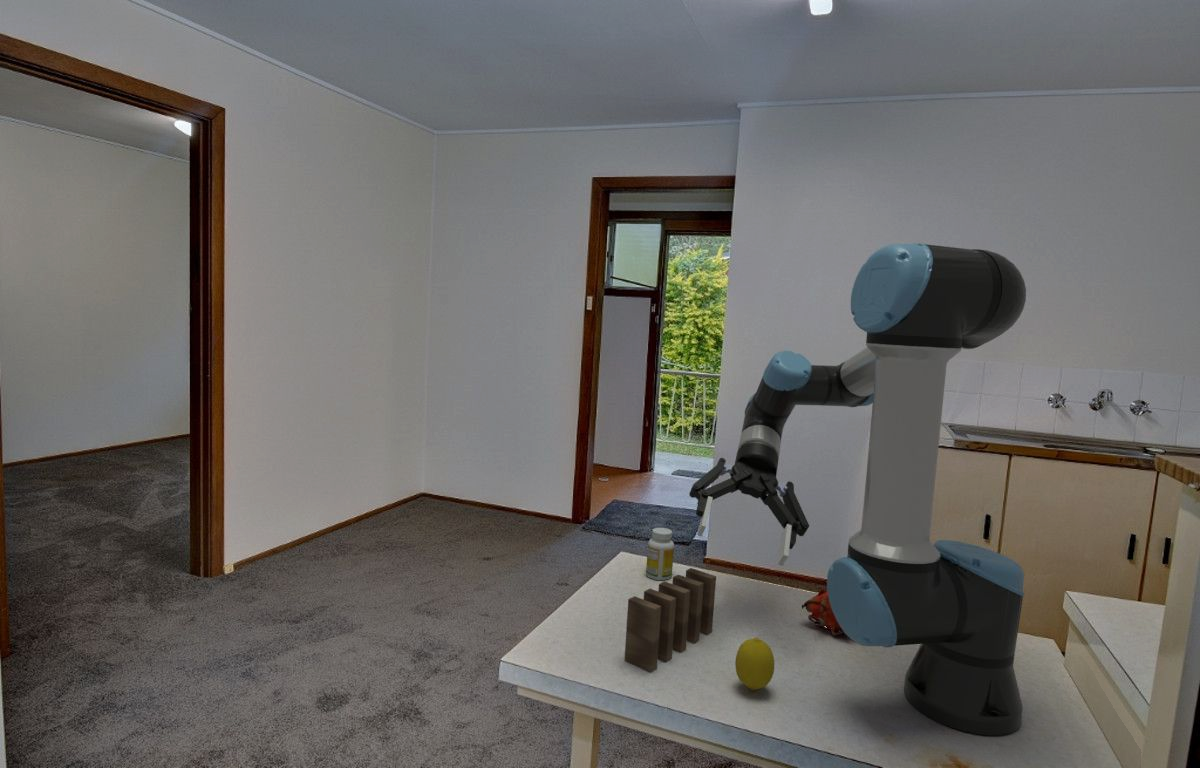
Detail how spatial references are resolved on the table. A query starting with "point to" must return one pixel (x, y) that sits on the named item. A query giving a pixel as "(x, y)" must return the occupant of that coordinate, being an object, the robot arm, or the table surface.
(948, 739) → the table surface
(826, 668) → the table surface
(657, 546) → the supplement bottle
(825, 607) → the dragon fruit
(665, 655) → the domino
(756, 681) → the lemon
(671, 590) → the domino
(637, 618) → the domino
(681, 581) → the domino
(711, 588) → the domino
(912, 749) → the table surface
